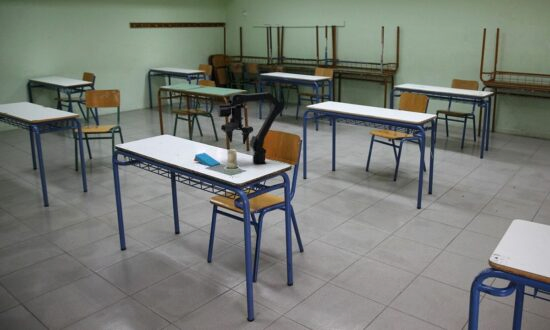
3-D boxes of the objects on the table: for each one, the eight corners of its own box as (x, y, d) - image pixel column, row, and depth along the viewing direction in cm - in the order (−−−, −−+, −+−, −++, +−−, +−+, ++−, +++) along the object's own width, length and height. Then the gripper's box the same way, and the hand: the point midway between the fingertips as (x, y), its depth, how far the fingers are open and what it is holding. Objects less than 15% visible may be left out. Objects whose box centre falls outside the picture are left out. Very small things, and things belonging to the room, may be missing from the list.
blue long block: (218, 173, 274) (199, 160, 284) (220, 163, 271) (200, 150, 281) (209, 176, 269) (190, 162, 279) (211, 165, 266) (191, 152, 276)
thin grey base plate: (204, 170, 264) (204, 163, 263) (220, 165, 273) (220, 159, 272) (231, 177, 250) (230, 171, 249) (247, 173, 258) (247, 166, 257)
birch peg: (232, 170, 259) (232, 148, 256) (238, 171, 256) (238, 150, 253) (225, 171, 256) (225, 150, 253) (232, 173, 253) (231, 151, 249)
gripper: (214, 116, 264) (215, 144, 268) (241, 119, 255) (242, 147, 259) (226, 113, 273) (227, 140, 278) (253, 116, 264) (254, 144, 268)
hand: (237, 143), depth 270 cm, fingers open, 9 cm apart
